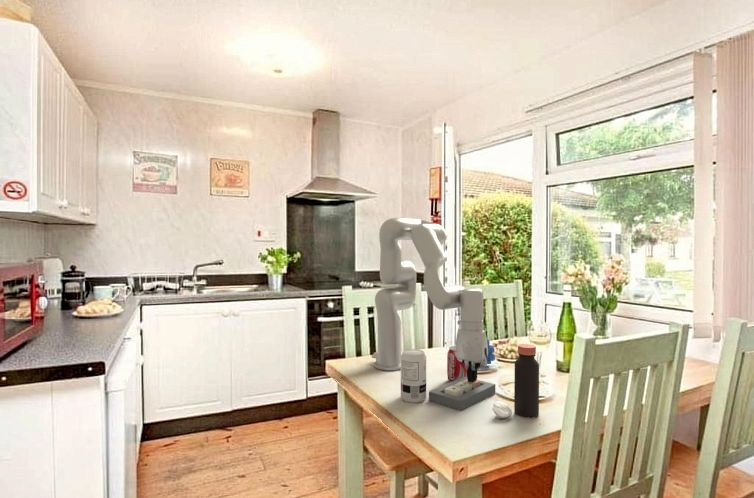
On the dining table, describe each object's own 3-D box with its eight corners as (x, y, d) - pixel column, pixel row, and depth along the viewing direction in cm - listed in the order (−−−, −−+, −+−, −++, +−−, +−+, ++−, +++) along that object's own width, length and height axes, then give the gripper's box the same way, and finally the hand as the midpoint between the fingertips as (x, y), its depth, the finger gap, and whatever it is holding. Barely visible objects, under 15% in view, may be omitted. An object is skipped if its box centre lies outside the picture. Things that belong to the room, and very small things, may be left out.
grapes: (463, 364, 178) (463, 335, 178) (471, 361, 183) (471, 332, 183) (490, 370, 171) (490, 339, 170) (497, 366, 176) (497, 336, 176)
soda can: (467, 385, 153) (467, 351, 153) (446, 383, 155) (446, 350, 154) (467, 378, 160) (467, 346, 160) (447, 377, 162) (447, 345, 161)
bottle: (543, 417, 126) (544, 347, 125) (523, 419, 124) (523, 349, 124) (529, 408, 132) (529, 342, 132) (509, 410, 131) (510, 344, 130)
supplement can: (396, 396, 143) (396, 350, 142) (418, 392, 146) (418, 348, 145) (407, 405, 135) (407, 356, 135) (431, 401, 138) (431, 353, 138)
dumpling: (496, 411, 130) (496, 398, 130) (514, 414, 128) (514, 401, 128) (490, 420, 124) (490, 406, 124) (508, 423, 122) (508, 409, 122)
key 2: (453, 392, 142) (453, 384, 142) (460, 388, 145) (460, 381, 145) (464, 395, 139) (464, 387, 139) (472, 391, 142) (472, 384, 142)
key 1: (444, 396, 138) (444, 388, 138) (452, 392, 141) (452, 385, 141) (455, 399, 135) (455, 391, 135) (463, 396, 138) (463, 388, 138)
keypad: (428, 400, 139) (428, 391, 139) (464, 384, 154) (464, 376, 153) (461, 411, 130) (461, 401, 130) (495, 393, 145) (495, 384, 145)
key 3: (462, 388, 146) (462, 380, 146) (469, 385, 149) (469, 377, 149) (473, 391, 143) (473, 383, 143) (480, 388, 146) (480, 380, 146)
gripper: (446, 324, 148) (446, 378, 148) (486, 330, 137) (486, 388, 138) (458, 321, 153) (459, 373, 153) (498, 327, 143) (498, 383, 143)
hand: (472, 380), depth 145 cm, fingers closed
